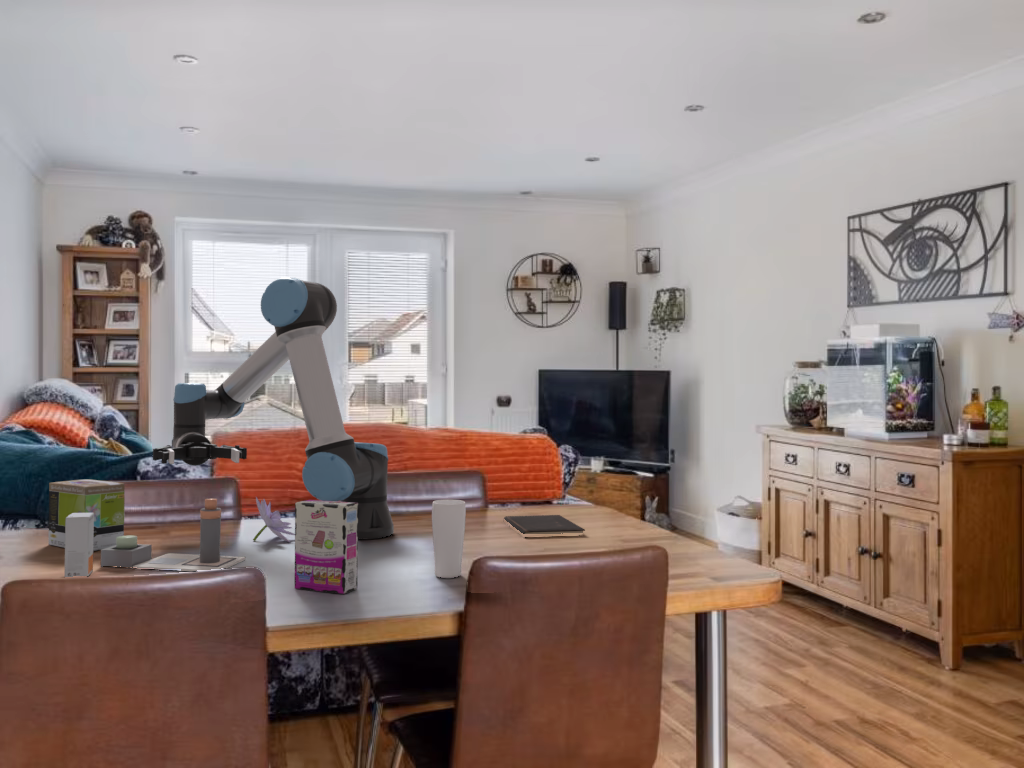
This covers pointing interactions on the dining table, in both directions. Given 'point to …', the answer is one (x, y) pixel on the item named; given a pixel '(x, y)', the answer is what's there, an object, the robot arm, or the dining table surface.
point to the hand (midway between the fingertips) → (205, 457)
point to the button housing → (126, 556)
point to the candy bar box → (326, 546)
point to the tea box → (87, 509)
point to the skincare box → (79, 544)
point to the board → (188, 562)
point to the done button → (126, 542)
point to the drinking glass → (448, 536)
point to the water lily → (272, 521)
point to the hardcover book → (543, 524)
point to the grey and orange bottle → (210, 532)
